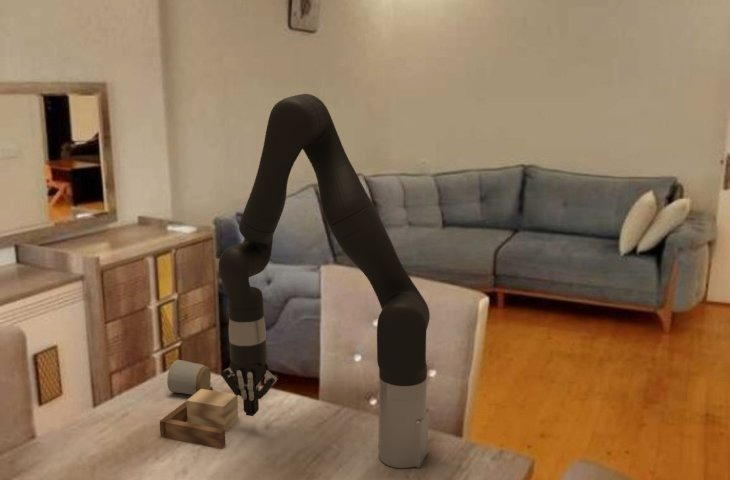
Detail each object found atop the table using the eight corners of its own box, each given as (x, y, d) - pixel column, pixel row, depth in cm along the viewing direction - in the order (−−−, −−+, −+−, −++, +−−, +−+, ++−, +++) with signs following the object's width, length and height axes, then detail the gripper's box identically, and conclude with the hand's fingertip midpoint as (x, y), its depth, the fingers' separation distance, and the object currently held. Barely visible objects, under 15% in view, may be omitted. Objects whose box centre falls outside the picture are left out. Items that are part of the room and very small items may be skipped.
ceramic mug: (199, 401, 161) (197, 370, 160) (167, 397, 163) (165, 366, 162) (218, 382, 172) (217, 353, 170) (188, 379, 173) (187, 350, 172)
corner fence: (263, 409, 157) (263, 395, 157) (221, 449, 141) (221, 433, 140) (207, 399, 162) (206, 385, 161) (160, 436, 146) (159, 421, 145)
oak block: (238, 419, 153) (237, 394, 152) (224, 432, 148) (223, 406, 146) (202, 413, 156) (201, 388, 155) (187, 425, 151) (186, 400, 149)
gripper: (284, 335, 145) (287, 411, 149) (229, 327, 149) (233, 401, 153) (267, 348, 138) (271, 427, 142) (210, 340, 142) (214, 417, 146)
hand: (251, 414), depth 148 cm, fingers closed
